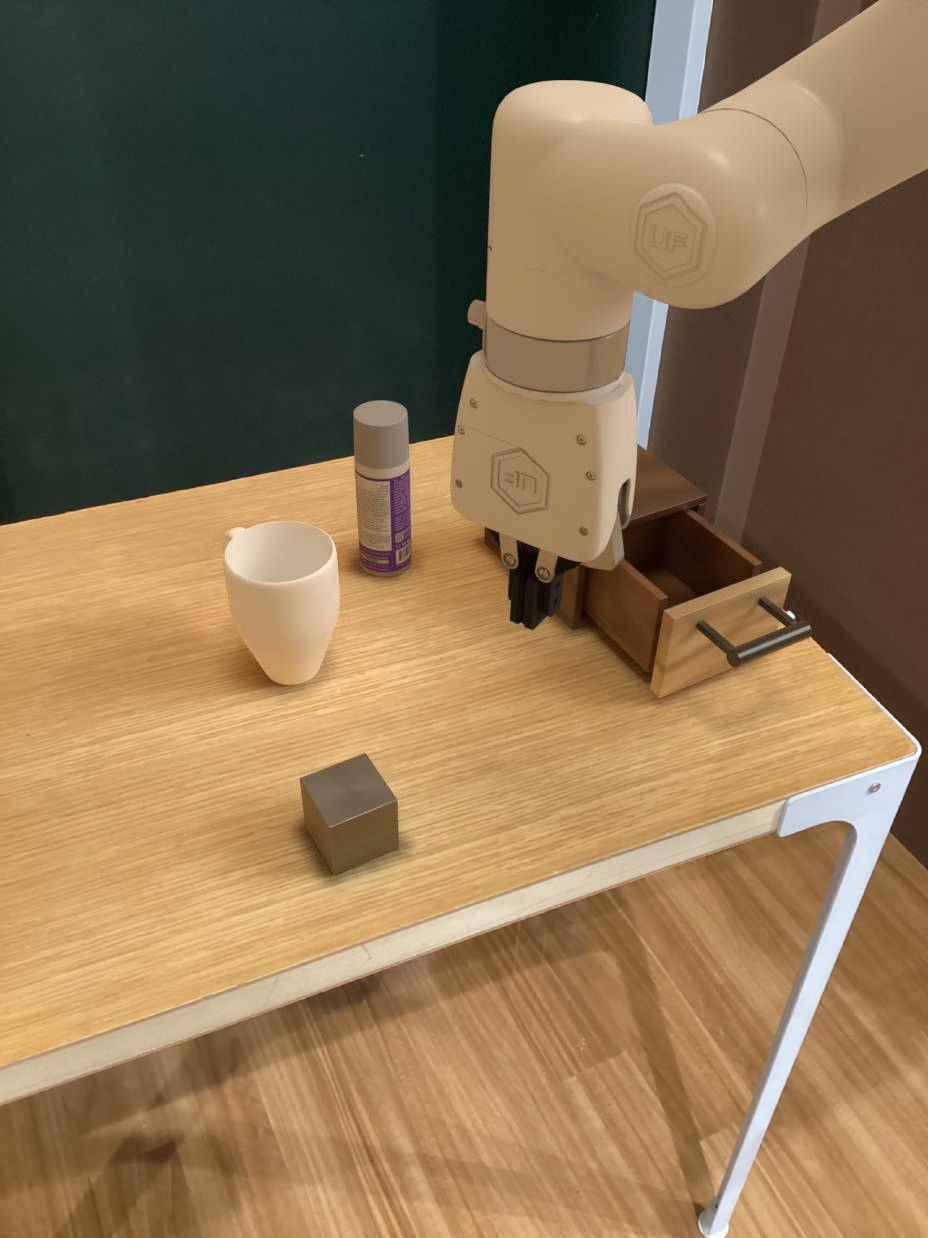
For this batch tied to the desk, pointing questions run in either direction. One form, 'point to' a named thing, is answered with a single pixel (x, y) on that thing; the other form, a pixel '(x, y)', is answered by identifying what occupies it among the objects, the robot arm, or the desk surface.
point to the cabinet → (652, 500)
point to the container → (382, 487)
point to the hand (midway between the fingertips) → (533, 614)
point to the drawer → (690, 602)
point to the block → (350, 813)
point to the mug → (283, 595)
